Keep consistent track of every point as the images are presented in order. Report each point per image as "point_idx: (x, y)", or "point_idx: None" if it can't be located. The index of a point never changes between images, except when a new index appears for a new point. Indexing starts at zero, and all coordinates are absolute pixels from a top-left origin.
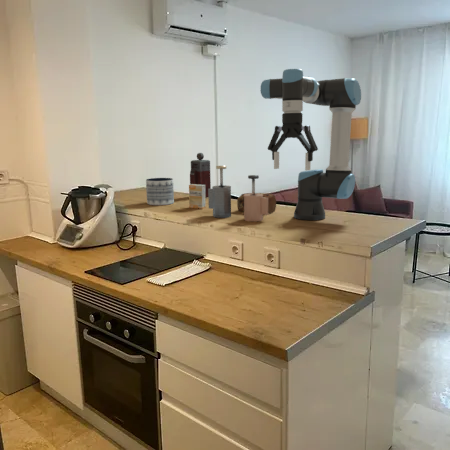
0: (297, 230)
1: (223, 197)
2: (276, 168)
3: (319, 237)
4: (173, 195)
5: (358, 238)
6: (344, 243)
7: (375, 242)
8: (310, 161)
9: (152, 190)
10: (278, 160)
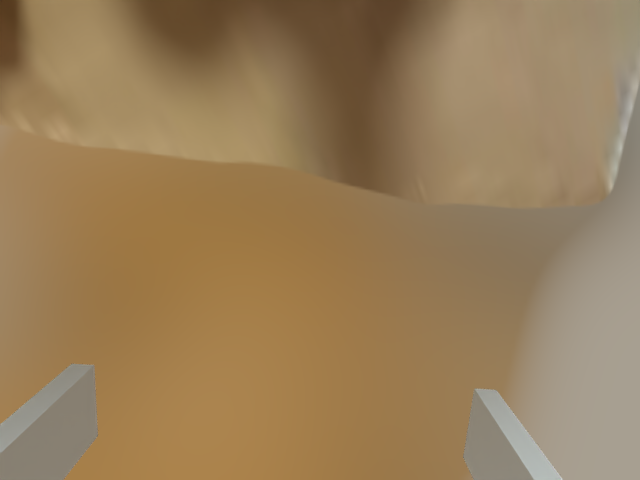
0: (254, 66)
1: None
2: (95, 420)
3: (391, 147)
4: None
5: (542, 81)
6: (509, 192)
7: (618, 115)
8: (545, 458)
9: None
10: (31, 442)
